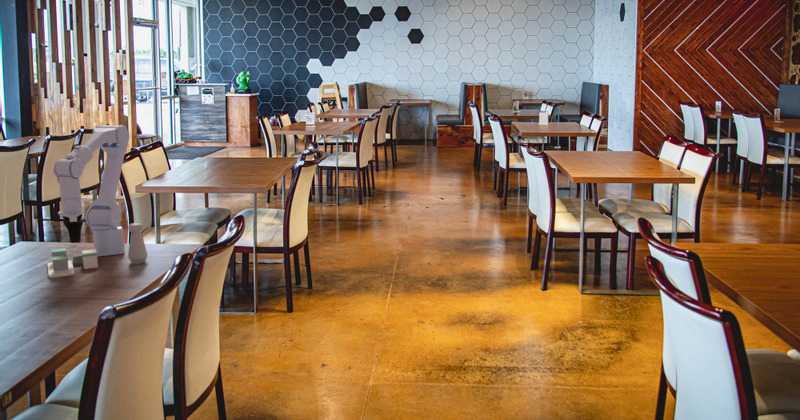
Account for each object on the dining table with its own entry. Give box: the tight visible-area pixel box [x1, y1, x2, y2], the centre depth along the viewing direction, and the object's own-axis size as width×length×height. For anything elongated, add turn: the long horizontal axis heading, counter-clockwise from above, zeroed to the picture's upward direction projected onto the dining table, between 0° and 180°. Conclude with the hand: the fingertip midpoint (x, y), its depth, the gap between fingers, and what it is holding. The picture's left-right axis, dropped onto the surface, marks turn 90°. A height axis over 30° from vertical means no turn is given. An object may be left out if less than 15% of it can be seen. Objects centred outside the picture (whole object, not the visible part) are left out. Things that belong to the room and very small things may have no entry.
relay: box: [72, 252, 83, 266], centre depth 218 cm, size 6×4×3 cm, turn 118°
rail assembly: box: [47, 247, 75, 279], centre depth 210 cm, size 7×15×5 cm, turn 28°
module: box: [81, 248, 99, 270], centre depth 214 cm, size 4×4×5 cm
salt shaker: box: [127, 222, 148, 265], centre depth 217 cm, size 6×6×13 cm
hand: (75, 239), depth 213 cm, fingers open, 7 cm apart
